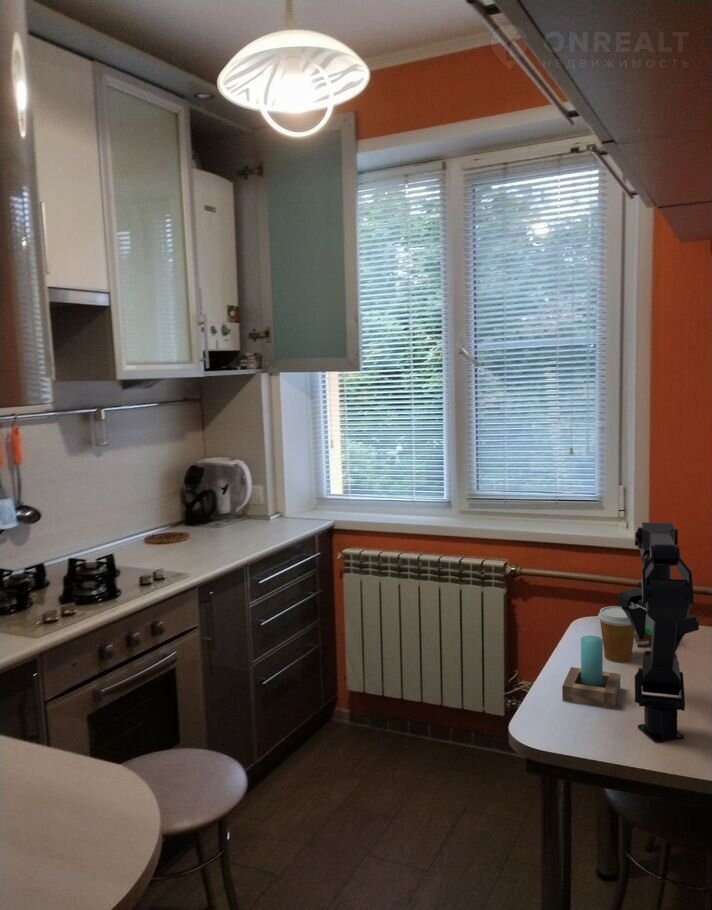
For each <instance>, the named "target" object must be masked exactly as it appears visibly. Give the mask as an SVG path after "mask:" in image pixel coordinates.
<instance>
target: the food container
mask: <svg viewBox="0 0 712 910" xmlns="http://www.w3.org/2000/svg"><path fill="white" fill-rule="evenodd" d="M652 628H653V620H652V619H651V618H650V617H649V616H648V615H647V614H646V624H645V635H644V639H639V638H638V636H637V634H636V632H635V634H634V641H633V642H634V643H635V645H636V647H637V648H649V647H651V643H652Z"/></svg>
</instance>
